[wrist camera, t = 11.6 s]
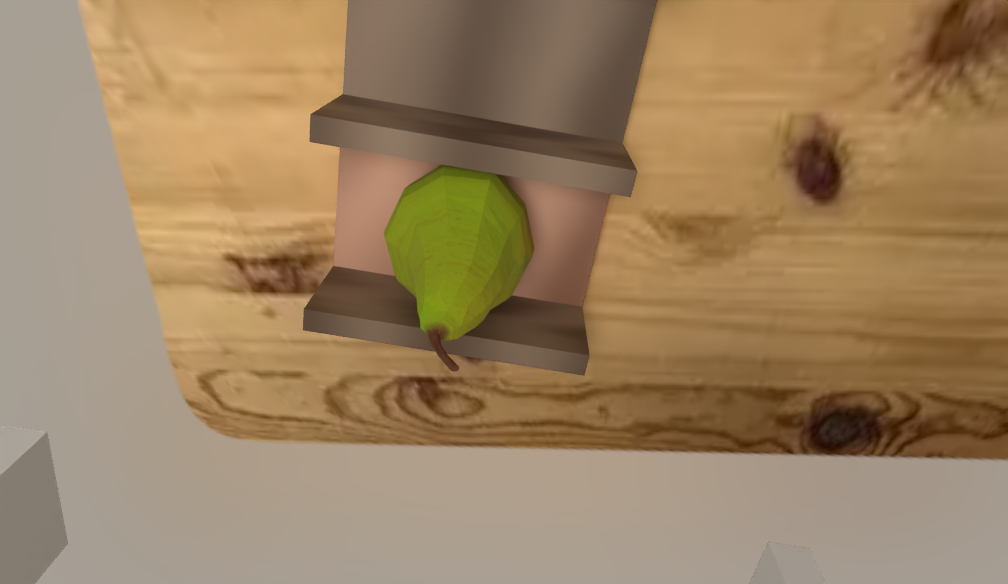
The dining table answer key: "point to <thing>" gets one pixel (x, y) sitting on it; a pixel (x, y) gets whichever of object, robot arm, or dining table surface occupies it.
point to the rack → (481, 155)
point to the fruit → (458, 248)
